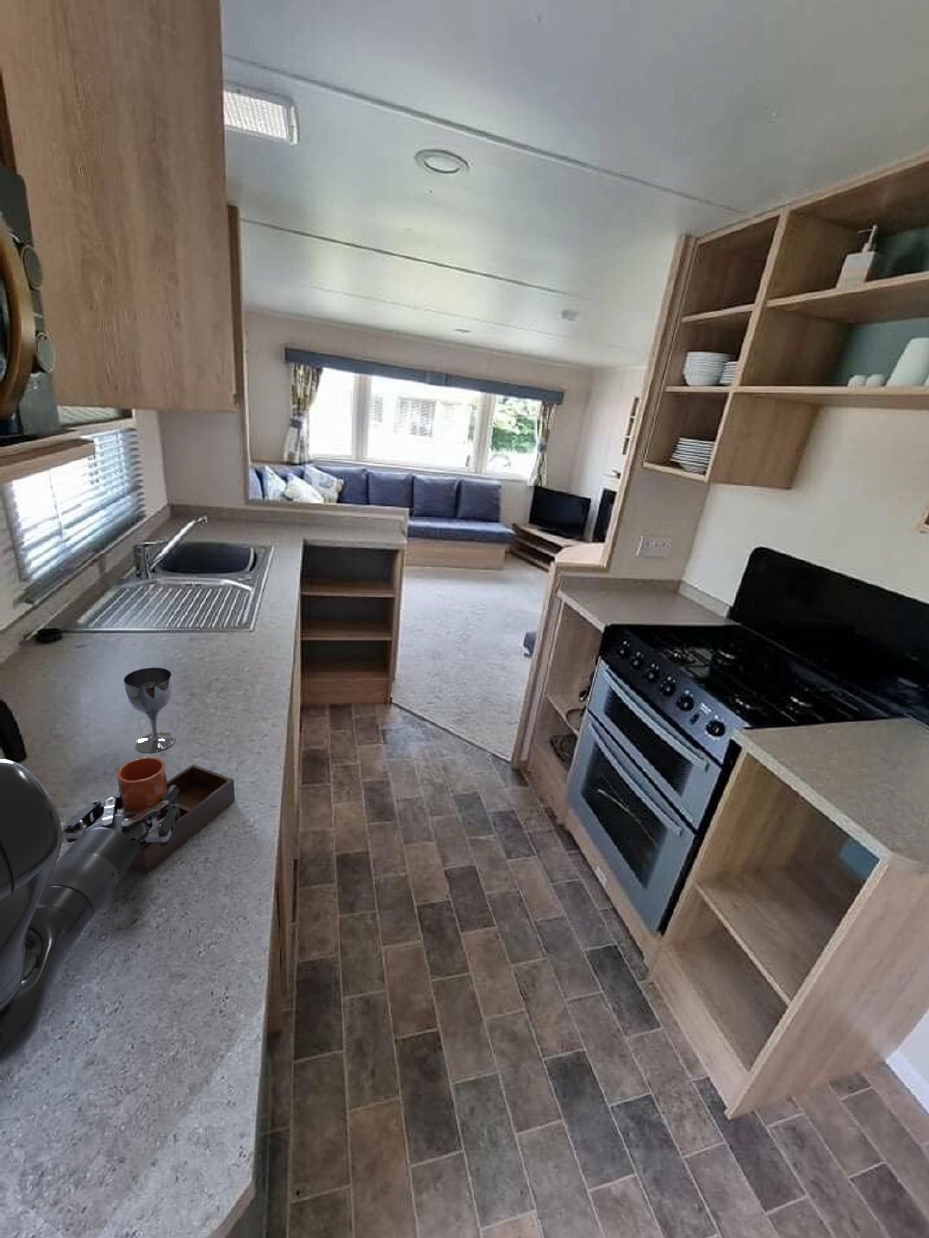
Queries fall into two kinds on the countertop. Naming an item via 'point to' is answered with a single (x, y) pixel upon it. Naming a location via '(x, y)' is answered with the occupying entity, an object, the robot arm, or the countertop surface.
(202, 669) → the countertop surface
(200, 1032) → the countertop surface
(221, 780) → the caddy
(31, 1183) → the countertop surface
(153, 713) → the wine glass
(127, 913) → the countertop surface
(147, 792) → the tumbler
